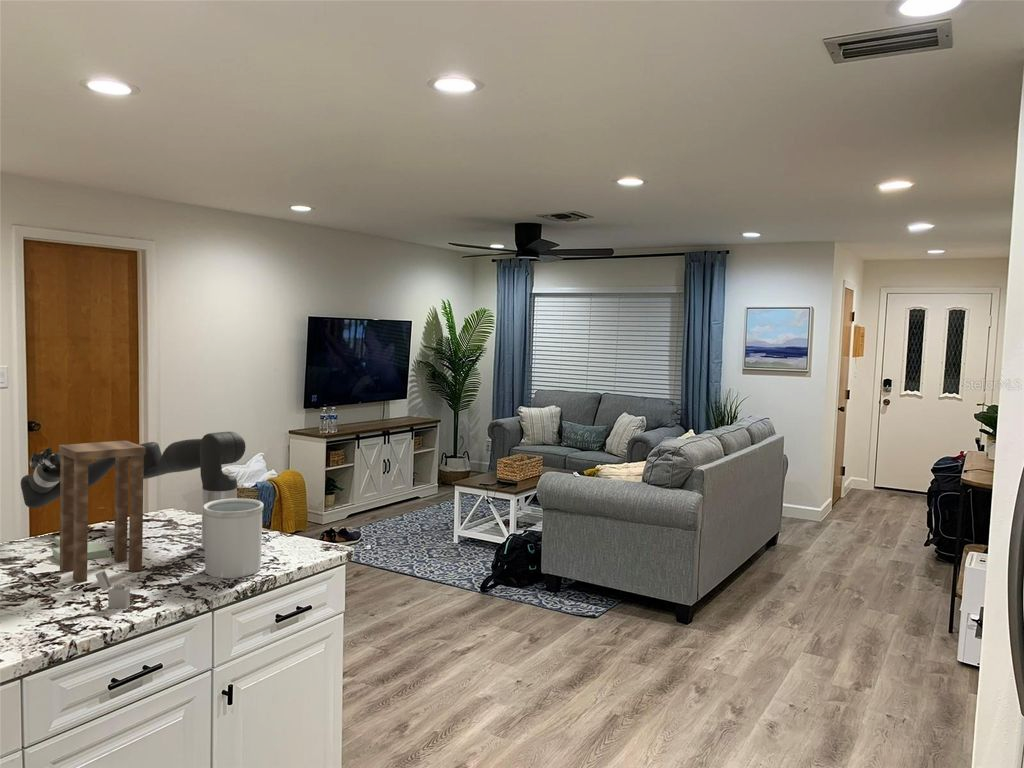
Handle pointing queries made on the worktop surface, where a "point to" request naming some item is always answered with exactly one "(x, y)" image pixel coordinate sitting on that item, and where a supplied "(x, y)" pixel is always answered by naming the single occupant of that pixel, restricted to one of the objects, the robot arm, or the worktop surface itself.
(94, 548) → the green block
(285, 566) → the worktop surface
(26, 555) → the worktop surface
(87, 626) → the worktop surface
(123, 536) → the stool
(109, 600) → the lighter
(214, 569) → the utensil holder
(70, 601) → the worktop surface
